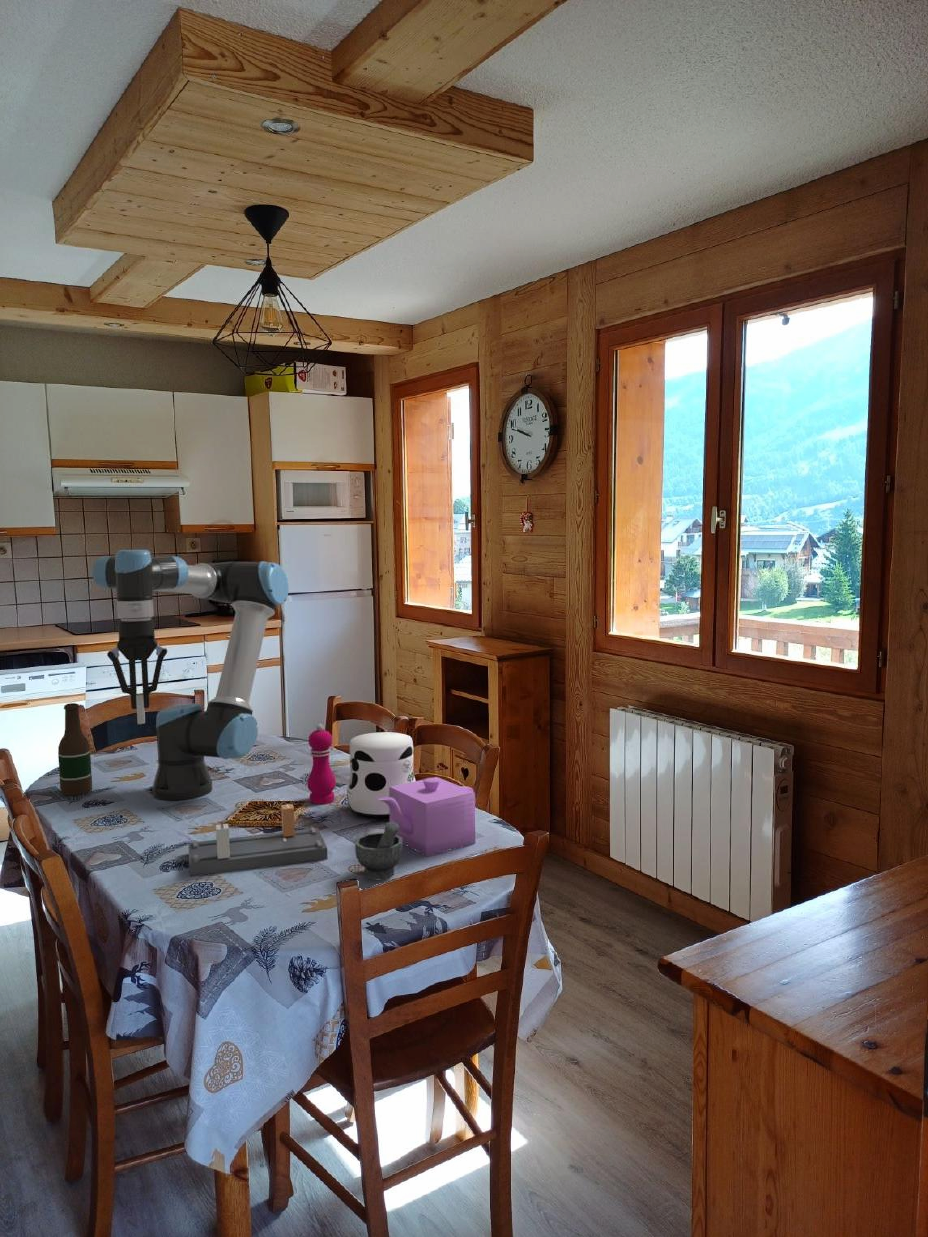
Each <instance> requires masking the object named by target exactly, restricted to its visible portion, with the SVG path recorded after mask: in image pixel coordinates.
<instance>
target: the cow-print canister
mask: <svg viewBox="0 0 928 1237" xmlns="http://www.w3.org/2000/svg"><path fill="white" fill-rule="evenodd" d="M349 770H350V771H349V773H350V774H349V780H348V782H347V783H348V784H347V789H346V796H347V803H348V805H349V808H350V810H352V811H353V812H355V813H356V814H358V815H360V816H361V815H362V816H366V817H372V818H373V817H374V818H386V817H390V811H389V806H388V805H387V804H386V803H385V802H382V801H380V800H378V799H380V798H384V797H389V787H391V786H396V785H401V784H405V783H410V782H415V781H417V780H416V778H415V773H414V772H415V771H414V743H413V738H412V737H411V736H410V735H407V734H405V733H400V732H389V731H387V732H384V731H383V732H382V731H381V732H369V733H363V734H360V735H356V736H354V737H352V738H351V739H350V741H349Z"/></svg>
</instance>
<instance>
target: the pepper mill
mask: <svg viewBox="0 0 928 1237" xmlns="http://www.w3.org/2000/svg"><path fill="white" fill-rule="evenodd" d="M308 744H309V747H310V748H311V749H310V755H311V757H312V767H311V771H310V773H309V775H308V779H307V783H306V784H307V789H308V791H309V792H311V793H309V801H310V803H311V804H314V805H326V804H330V803H333V802H334V801H335V792H334V789H336V785H337V783H336V778H335V774H334V773H333V770H332V768H331V766H330V755H331V754H332V753H331V748H330V747H331V745H332V744H333V736H332V734H331V732H329V731H327V730H325V729H324V725H323V724H321V723H320V724H319V723H318V724H317V725H316V730H314V731H312V732H311V733H310V734H309V736H308Z"/></svg>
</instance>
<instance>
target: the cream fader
mask: <svg viewBox="0 0 928 1237" xmlns="http://www.w3.org/2000/svg"><path fill="white" fill-rule="evenodd" d="M215 833H216V835H215V836H216V840H217V856H218V859H222V858H230V846H229V838H230V827H229V823H222V824H221V823H220V824H216V825H215Z"/></svg>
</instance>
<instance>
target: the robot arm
mask: <svg viewBox="0 0 928 1237" xmlns="http://www.w3.org/2000/svg"><path fill="white" fill-rule="evenodd" d="M91 574H92V579H93V581H94V583H95V584H96V585H97V586H98V587H100V588H104V589H110V590H113V589H116V596H117V597H116V607H117V608H116V609H117V618H118V619H120V620H119V621H118V622H117V624H118V625H117V627H118V628H117V629H118V642H117V644H116V647H114V648H113V649H111V650H109V651H108V652H107V654H106V656H107V658H109V660H110V661H111V663H112V665H113V667H114V670H115V674H116V677H117V680H118V684H119V687H120V689H121V692H122V693H123V694H128V695H129V696H130V705H131V706H130V707H131V709H132V710H136V717H137V718H136V719H137V725H143V724H145V723H146V714H145V709H149V708H150V693H152V692H156V691H157V690H158V685H159V679H160V674H161V671H162V665H163V661H164V659H165V656H166V655H167V654H168V649H167V647H163V646H161V645H159V644H158V641H157V640H156V637H155V620H153V617H154V616H155V615H154V600H153V599H154V598H153V591H154V592H164V593H178V594H191V595H192V596H193V597H195V598H197V599H205V600H211V601H215V602H220V603H225V604H231V606H232V608H233V610H234V612H235V614H234V619H233V623H232V627H231V631H230V635H229V639H228V644H227V647H226V652H225V657H224V661H223V665H222V669H221V674H220V678H219V681H218V685H217V690H216V694H215V695H216V696H215V697H214V698H212V699H211V700H209V701H208V702H207V706H206V711H204V710H203V709H204V708H203V706H202V704H201V703H196V702H195V703H186V704H178V705H175V706H169V707H166V708H163V709H161V710H159V711H158V712H157V714H156V723H155V724H156V725H155V728H156V729H155V730H156V742H157V743H156V744H157V745H156V746H157V747H156V748H157V758H158V759H157V760H158V761H157V762H158V765H157V770H156V773H155V777H154V780H153V783H152V796H153V797H154V798H156V799H160V800H164V801H166V800H168V801H178V800H182V801H183V800H188V799H194V798H198V797H202V796H204V795H207V794H209V793H210V792H212V790H213V780H212V778H211V775H210V772H209V770H208V768H207V765H206V764H207V763H206V762H205V757H207V758H208V757H209V758H210V757H211V758H220V759H223V760H229V759H234V760H236V759H237V760H238V759H241V758H243V757H245V756H246V755H247V754H249V753H250V751H251V750H252V749H253V747H254V745H255V744H256V741H257V738H258V733H259V732H258V731H259V728H258V721H257V718H255V716H253V712H254V711H253V708H252V706H251V705H250V698H251V694H252V689H253V686H254V682H255V681H254V680H255V676H256V672H257V666H258V663H259V658H260V654H261V650H262V646H263V642H264V636H265V632H266V627H267V623H268V619H269V618H271V617H273V616H274V615H275V613H276V609H277V606H282V605H283V604H285V602H286V601H287V600H288V595H289V580H288V577H287V574H286V572H285V570H284V569H283V567H282V566H281V565H280V564H278V563H276V562H272V561H271V562H269V561H264V560H263V561H224V562H213V563H212V562H211V563H205V562H199V563H196V564H193V565H191V564H187V562H186V561H185V560H184V559H183V558H181V557H180V556H176V555H174V556H173V555H166V556H152V555H151V552H150V550H148V549H122V550H121V549H120V550H118V551H116V553H115V556H112V555H109V556H102V557H99V558H98V559H96V560H95V562H94V564H93V565H92V573H91ZM154 652H155V655H156V656H157V658H156V663H155V667H154V672H153V677H152V682H151V685H149V668H148V667H149V666H148V660H149V659H150V658H151V655H152V654H153V653H154ZM120 653H121V655H123V657H124V658H125V659H126V660H127V661H128V671H129V685H130V686H128V683H127V681H126V678H125V674H124V671H123V667H122V665H121V661H120V660H119V657H120ZM136 661H140V666H141V682H142V683H141V684H142V685H141V686H142V693H141V692H140V693H138V692H137V691H138V690H137V689H138V688H137V670H136Z"/></svg>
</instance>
